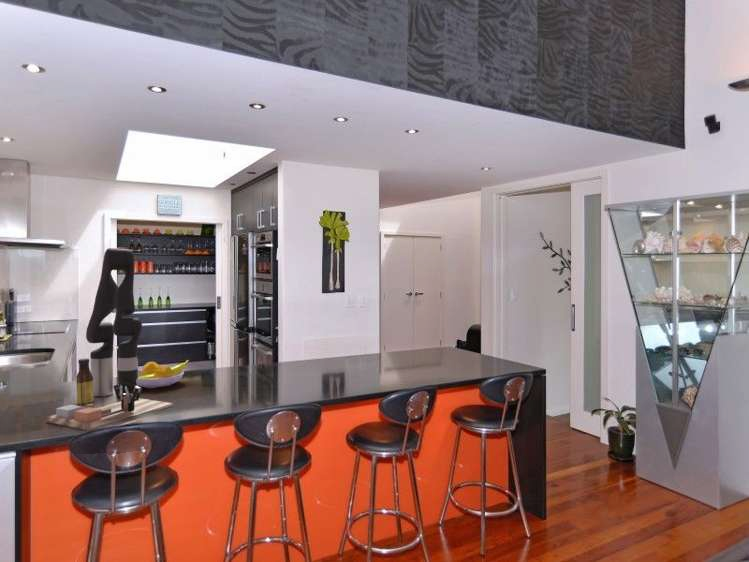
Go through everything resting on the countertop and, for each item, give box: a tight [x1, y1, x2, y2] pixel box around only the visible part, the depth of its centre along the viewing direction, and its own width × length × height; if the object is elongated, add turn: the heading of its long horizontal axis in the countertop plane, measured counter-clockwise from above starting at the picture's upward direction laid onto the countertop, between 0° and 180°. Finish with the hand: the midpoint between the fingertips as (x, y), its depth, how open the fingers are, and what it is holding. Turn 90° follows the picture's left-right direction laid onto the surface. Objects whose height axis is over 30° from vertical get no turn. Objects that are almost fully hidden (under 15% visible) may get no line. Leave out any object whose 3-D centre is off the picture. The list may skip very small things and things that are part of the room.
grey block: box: [55, 403, 95, 419], centre depth 200 cm, size 6×13×5 cm, turn 156°
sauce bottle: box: [75, 358, 95, 406], centre depth 221 cm, size 6×6×20 cm
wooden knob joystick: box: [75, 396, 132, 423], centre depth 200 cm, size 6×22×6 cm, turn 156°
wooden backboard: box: [46, 397, 174, 431], centre depth 209 cm, size 22×40×3 cm, turn 156°
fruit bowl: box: [136, 359, 190, 389], centre depth 261 cm, size 28×27×11 cm
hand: (127, 410), depth 209 cm, fingers closed on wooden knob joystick, 3 cm apart
